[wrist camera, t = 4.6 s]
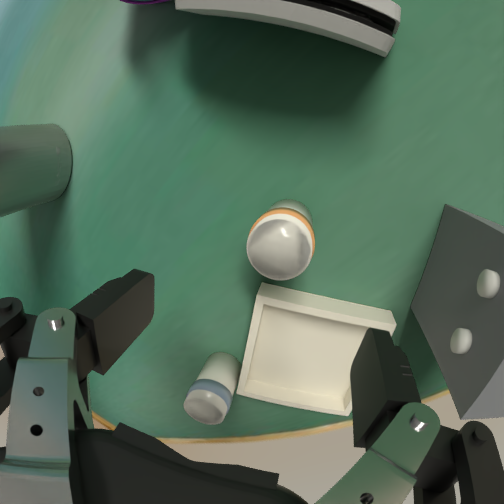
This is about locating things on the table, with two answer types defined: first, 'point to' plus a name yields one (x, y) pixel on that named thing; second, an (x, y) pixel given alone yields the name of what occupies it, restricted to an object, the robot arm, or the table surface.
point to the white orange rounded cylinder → (282, 240)
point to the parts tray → (305, 348)
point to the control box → (466, 311)
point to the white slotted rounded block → (315, 17)
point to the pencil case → (144, 1)
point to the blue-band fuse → (213, 389)
